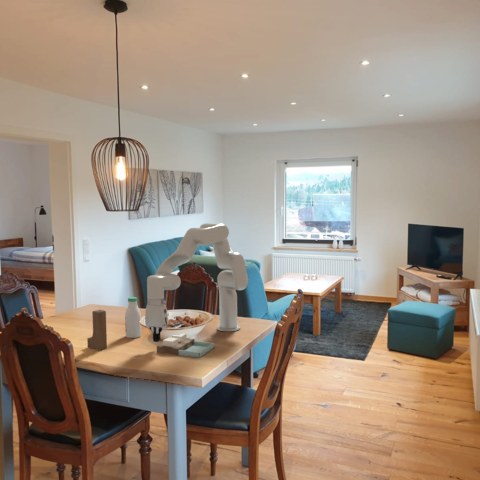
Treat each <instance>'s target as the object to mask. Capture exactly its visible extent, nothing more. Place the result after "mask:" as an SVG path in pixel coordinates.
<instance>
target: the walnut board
mask: <svg viewBox="0 0 480 480" xmlns="http://www.w3.org/2000/svg"><path fill="white" fill-rule="evenodd" d="M186 338H187V339H186V340H184V341H182V342H178V344H177V345H175V346H174V347H169V346H163V342H162V343H160V344H158V345H157V346H156V353H158V354H166V355H173V356H180V355H179V354H178V350H186V349H187V348H189V347H191V346H192V345H194V341H196V340H195V338H191V337H190V338H189V337H186Z"/></svg>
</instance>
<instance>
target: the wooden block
mask: <svg viewBox="0 0 480 480" xmlns="http://www.w3.org/2000/svg"><path fill="white" fill-rule="evenodd" d="M91 312H92V336H90V337H87V338H86V339H87V340H86V341H87V348H89V349H93V350H96V351H103V350H106V349H108V342H107V341H108V340H107V338H108V337H107V336H108V335H107V312H106V310H103V309H97V310H93V311H91Z"/></svg>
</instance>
